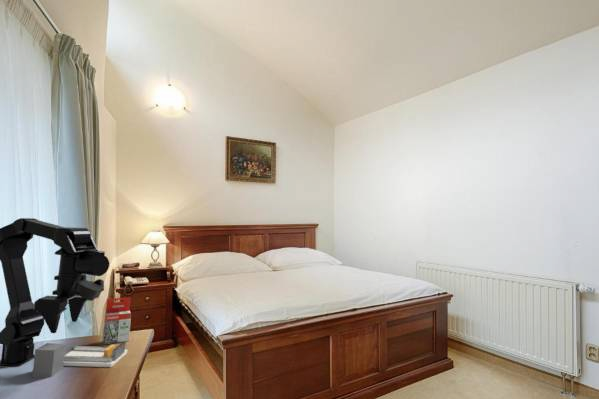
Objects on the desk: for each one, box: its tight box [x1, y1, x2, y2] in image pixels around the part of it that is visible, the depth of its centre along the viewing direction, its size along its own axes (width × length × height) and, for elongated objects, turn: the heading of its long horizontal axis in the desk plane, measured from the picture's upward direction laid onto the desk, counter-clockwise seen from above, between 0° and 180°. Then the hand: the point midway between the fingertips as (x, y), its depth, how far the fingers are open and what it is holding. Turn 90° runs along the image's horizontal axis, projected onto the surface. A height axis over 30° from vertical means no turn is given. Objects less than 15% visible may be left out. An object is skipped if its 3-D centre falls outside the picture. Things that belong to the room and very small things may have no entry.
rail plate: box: [63, 341, 128, 368], centre depth 99 cm, size 16×10×4 cm, turn 94°
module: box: [32, 342, 66, 378], centre depth 89 cm, size 5×4×7 cm
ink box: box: [102, 296, 132, 345], centre depth 113 cm, size 4×8×15 cm, turn 123°
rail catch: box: [104, 343, 117, 357], centre depth 99 cm, size 1×4×2 cm, turn 3°
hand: (64, 326), depth 91 cm, fingers open, 9 cm apart
